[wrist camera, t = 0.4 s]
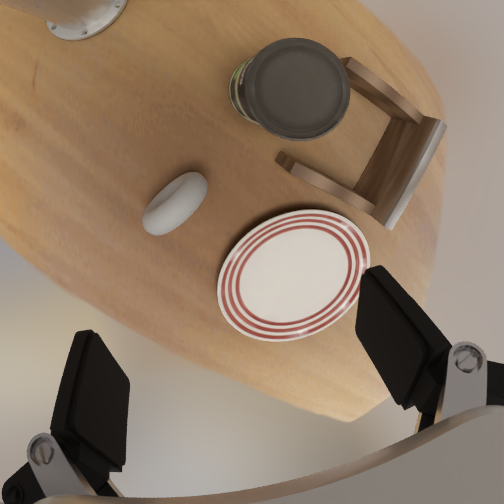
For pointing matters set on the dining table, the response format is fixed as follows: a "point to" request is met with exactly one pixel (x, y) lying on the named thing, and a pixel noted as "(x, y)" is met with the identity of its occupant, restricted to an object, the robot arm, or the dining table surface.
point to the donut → (174, 203)
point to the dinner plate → (293, 275)
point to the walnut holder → (381, 152)
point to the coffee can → (292, 89)
